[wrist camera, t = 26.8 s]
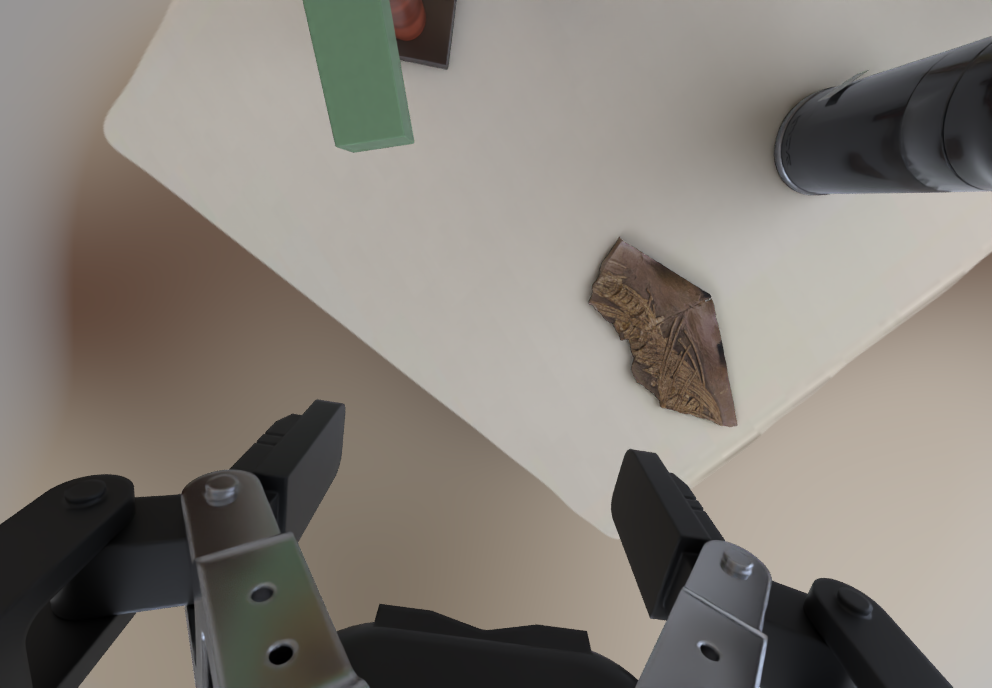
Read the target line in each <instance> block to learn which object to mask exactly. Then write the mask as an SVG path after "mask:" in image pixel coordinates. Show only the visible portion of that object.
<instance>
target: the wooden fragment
mask: <svg viewBox="0 0 992 688" xmlns="http://www.w3.org/2000/svg"><path fill="white" fill-rule="evenodd" d="M592 291H593V294H592V296H591V298H590V300H589V304H591V305H593V306H594V308H595V310H598V312H600V313H601V314H602V316H603V318H605V320H606V321H608V322H610V323H612V324H613V325H614V327H615V328H616V331H617V332H618V334H619V337H620V340H627V339H628V340H629V344H630V348H631V352H632V354H633V356H634V359H633V363H632V367H631V370H632V373H633V376H634V377H635V379H636V381H637V383H640V384H641V385H644V387H645V388H646V389H648V390H650V392H651V393H654V394H655V396H656V397H657V398H658V399H659V400H660V406H661V408H667V409H670V410H675V411H678V412H680V413H684V414H691V415H694V416H696V417H699V418H703V419H708V420H712V421H713V422H714V423H716V424H719V425H720V426H728V427H733V426H737V420H736V415H735V409H734V403H733V399H732V394H731V389H730V383H729V378H728V373H727V366H726V360H725V356H724V350H723V345H722V340H721V335H720V331H719V327H718V322H717V320H716V316H715V315H716V313H715V308H714V303H713V301H712V299H711V300H709V298H711V295H710V294H709V293H707V292H705V291H703V290H701V289H700V288H698V287H697V286H695V285H693V284H692V283H690V282H689V281H687V280H686V279H684V278H682V277H680V276H679V275H677V274H676V273H674V272H673V271H671V270H670V269H668V268H666V267H665V266H663V265H662V264H660V263H659V262H656V261H655V260H654V259H652V258H650V257H649V256H648V255H644V253H643V252H641V251H639V250H638V249H636V248H634V247H633V246H631V245H630V244H628V243H626V242H625V241H623V240H622V239H621V238H620V237H619V239H618V240H617V242H616V244H615V245H614V247H613V249H611V252H610V253H609V254H608V256H607V257H606V258H605V260H604V261H603V262H602V264H601V268H600V275H599V277H598V278H597V280H596V282H595V283H594V284H593V285H592ZM706 299H708V300H709V301H706V302H705V300H706Z"/></svg>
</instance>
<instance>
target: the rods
mask: <svg viewBox="0 0 992 688" xmlns="http://www.w3.org/2000/svg"><path fill="white" fill-rule="evenodd" d="M389 2H390V7H391V13H392V19H393V24H394V30H395V36H396V41H397V47H398V53H399V58H400V60H403V61H408V62H413V63H418V64H422V65H427V66H432V67H437V68H442V69H448V64H449V57H450V49H451V41H452V33H453V25H454V18H455V10H456V2H457V0H389Z"/></svg>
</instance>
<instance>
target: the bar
mask: <svg viewBox="0 0 992 688" xmlns="http://www.w3.org/2000/svg"><path fill="white" fill-rule="evenodd" d="M303 4H304V9H305V13H306V17H307V22H308V26H309V31H310V35H311V40H312V44H313V48H314V53H315V57H316V62H317V66H318V71H319V75H320V79H321V84H322V88H323V93H324V97H325V102H326V106H327V110H328V115H329V119H330V124H331V128H332V133H333V137H334V141H335V146H336V147H338V148H341V149H344V150H347V151H350V152H353V153H354V152H361V151H368V150H374V149H381V148H388V147H394V146H401V145H408V144H413V143H414V137H413V132H412V126H411V120H410V115H409V109H408V103H407V98H406V92H405V87H404V81H403V75H402V70H401V64H400V58H399V53H398V47H397V41H396V36H395V30H394V24H393V19H392V13H391V7H390V2H389V0H303Z"/></svg>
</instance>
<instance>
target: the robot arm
mask: <svg viewBox="0 0 992 688" xmlns="http://www.w3.org/2000/svg"><path fill="white" fill-rule="evenodd" d="M868 71H869V70H868ZM866 72H867V71H865V72H862V73H859V74H856V75H855V76H853V77H852V78H850V79H849V80H848V81H846V82H845V83H843V84H842V85H840V86H837V87H831V88H827V89H824V90H821V91H818V92H816V93H813V94H811V95H809V96H808V97H806V98H805V99H803V100H802V101H800V102H799V103H798V104H797V105H796V106H795V107H794V108H793V109H792V110H791V111H790V112H789V114H788V115H787V117H786V118H785V120H784V121H783V123H782V125H781V127H780V129H779V132H778V135H777V138H776V142H775V152H774V155H775V164H776V167H777V170H778V173H779V175H780V177H781V178H782V180H783V181H784V182H785V183H786V184H787V185H788V186H789V187H790V188H792V189H793V190H795V191H797V192H799V193H802V194H806V195H827V194H865V193H930V192H978V191H992V36H990V37H987V38H984V39H981V40H978V41H975V42H972V43H969V44H966V45H964V46H960V47H957V48H954V49H951V50H948V51H945V52H942V53H939V54H936V55H933V56H930V57H927V58H923V59H920V60H917V61H914V62H911V63H908V64H905V65H902V66H899V67H896V68H893V69H890V70H887V71H883V72H880V73H877V74H874V75H871V76H868V77H865V78H862V79H859V80H856V79H857V78H859V77H860V76H861V75H863V74H864V73H866ZM854 80H856V81H854ZM344 421H345V405H344V404H343V403H337V402H330V401H324V400H315V401H314V402H313V403H312V405H311V406H310V407H309V408H308V409H307V410H306V411H305V412H304V414H303V415H297V414H291V415H289V416H287V417H284V418H282V419H280V420H278V421H276V422H275V423H274V424H273V425H272V426H271V427H270V428H269V429H268V430H267V431H266V433H265V434H263V435H262V436H261V437H260V438H259V439H258V440H257V443H254V444H253V445H252V447H251V448H250V449H249V450H248V451H247V452H246V453H245V454H244V455H243V456H242V457H241V458H240V459H239V460H238V461H237V462H236V463H235V464H234V465H233V466H232V467H231V468H230V469H229V470H220V471H215V472H211V473H207V474H205V475H202V476H200V477H198V478H196V479H194V480H193V481H191V482H190V483H189V484H188V485H186V487H185V488H184V489H183V491H182V493H181V494H178V495H166V496H151V497H135V496H134V485H133V483H132V482H131V481H130V480H129V479H127V478H125V477H122V476H118V475H108V474H105V475H104V474H103V475H91V476H86V477H81V478H77V479H73V480H71V481H68V482H65V483H62V484H60V485H58V486H56V487H54V488H52V489H50V490H48V491H47V492H45V493H44V494H43V495H41V496H40V497H38V498H37V499H36V500H34V501H33V502H32V503H30V504H28V505H27V506H26V507H24V508H23V509H21V510H20V511H19V512H17V513H16V514H14V515H13V516H12V517H10V518H9V519H7V520H6V521H5V522H3V523H2V524H0V688H78V687H79V685H80V684H81V683H82V682H83V680H84V679H85V678H86V676H87V675H88V674H89V673H90V671H91V670H92V669H93V667H94V666H95V665H96V664H97V662H98V661H99V660H100V659H101V657H102V656H103V655H104V653H105V652H106V651H107V650H108V648H109V647H110V646H111V645H112V643H113V642H114V641H115V639H116V638H117V637H118V636H119V634H120V633H121V632H122V630H123V629H124V628H125V627H126V625H127V624H128V623H129V621H130V620H131V619H132V618H133V616H134V615H135V614H136V612H141V611H148V610H155V609H162V608H170V607H177V606H184V605H185V614H186V621H187V628H188V634H189V642H190V649H191V656H192V663H193V670H194V678H195V685H196V688H759V687H760V688H953V687H952V685H951V684H950V683H949V682H948V681H947V680H946V679H945V678H944V677H943V676H942V674H941V673H940V672H939V671H938V670H937V669H936V668H935V666H934V665H933V664H932V663H931V662H930V661H929V660H928V659H927V658H926V656H925V655H924V654H923V653H922V652H921V651H920V650H919V649H918V647H917V646H916V645H915V644H914V643H913V642H912V641H911V640H910V638H909V637H908V636H907V635H906V634H905V633H904V632H903V631H902V630H901V628H900V627H899V626H898V625H897V624H896V623H895V622H894V621H893V619H892V618H891V617H890V616H889V615H888V614H887V613H886V612H885V611H884V610H883V609H882V608H881V607H880V606H879V605H878V604H877V603H876V602H875V601H873V600H872V599H871V598H869V597H868V596H867V595H865V594H864V593H862V592H861V591H859V590H857V589H855V588H854V587H852V586H849V585H847V584H845V583H843V582H840V581H837V580H833V579H829V578H819V579H817V580H815V581H814V583H813V584H812V586H811V588H810V590H809V593H808V594H807V593H804V592H801V591H798V590H796V589H793V588H790V587H787V586H785V585H782V584H779V583H777V582H774V581H772V577H771V574H770V572H769V570H768V569H767V567H766V566H765V565H764V564H763V563H762V562H761V561H760V560H759V559H758V558H757V557H755V556H754V555H753V554H752V553H750V552H749V551H747V550H745V549H743V548H741V547H739V546H737V545H735V544H732V543H730V542H726V541H725V540H724V538H723V537H722V535H721V534H720V532H719V531H718V530H717V528H716V527H715V525H714V524H713V522H712V521H711V519H710V518H709V516H708V515H707V513H706V512H705V511H703V507H702V506H701V504H700V503H699V502H698V501H697V500H696V497H695V496H694V494H693V493H692V491H691V490H690V488H689V487H688V485H686V484H685V483H684V482H683V481H682V480H680V479H679V478H678V477H677V476H676V475H674V474H673V473H669V472H668V470H667V469H666V467H665V466H664V464H663V463H662V461H661V460H660V458H659V456H658V455H657V454H656V453H652V452H645V451H639V450H633V449H629V450H628V451H627V452H626V453H625V456H624V459H623V462H622V465H621V469H620V472H619V475H618V479H617V482H616V485H615V489H614V492H613V496H612V502H611V512H612V518H613V521H614V523H615V526H616V529H617V531H618V534H619V537H620V539H621V542H622V545H623V547H624V550H625V553H626V555H627V558H628V560H629V563H630V566H631V569H632V571H633V574H634V576H635V579H636V582H637V584H638V587H639V590H640V592H641V595H642V598H643V600H644V603H645V606H646V608H647V611H648V613H649V616H650V618H651V619H659V620H666V623H665V625H664V627H663V629H662V631H661V634H660V636H659V638H658V640H657V642H656V644H655V646H654V649H653V651H652V653H651V655H650V657H649V659H648V661H647V663H646V665H645V668H644V670H643V672H642V674H641V676H640V678H639V680H637V679H636V678H635V677H634V676H633V675H632V674H630V673H629V672H628V671H626V670H625V669H624V668H622V667H621V666H620V665H618V664H616V663H615V662H613V661H612V660H610V659H608V658H606V657H604V656H602V655H600V654H598V653H596V652H593V651H591V648H590V643H589V638H588V634H587V631H582V630H574V629H567V628H559V627H551V626H544V625H529V626H520V627H512V628H503V629H494V630H482V629H479V628H476V627H473V626H471V625H468V624H466V623H463V622H460V621H458V620H455V619H452V618H449V617H447V616H444V615H442V614H439V613H436V612H434V611H430V610H422V609H415V608H407V607H400V606H392V605H385V604H380V605H379V608H378V611H377V615H376V618H375V622H372V623H364V624H359V625H355V626H351V627H348V628H345V629H342V630H339V631H337V632H336V629H335V627H334V625H333V623H332V620H331V618H330V616H329V613H328V611H327V609H326V606H325V604H324V602H323V600H322V597H321V595H320V593H319V590H318V588H317V586H316V584H315V581H314V579H313V577H312V574H311V572H310V570H309V568H308V565H307V563H306V561H305V558H304V556H303V554H302V551H301V549H300V547H299V545H298V541H299V540H300V538H301V536H302V534H303V533H304V531H305V529H306V527H307V526H308V524H309V522H310V520H311V519H312V517H313V515H314V513H315V511H316V510H317V508H318V506H319V504H320V503H321V501H322V499H323V497H324V496H325V494H326V492H327V490H328V488H329V487H330V485H331V483H332V482H333V480H334V478H335V476H336V474H337V471H338V468H339V465H340V461H341V456H342V445H343V434H344Z"/></svg>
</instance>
